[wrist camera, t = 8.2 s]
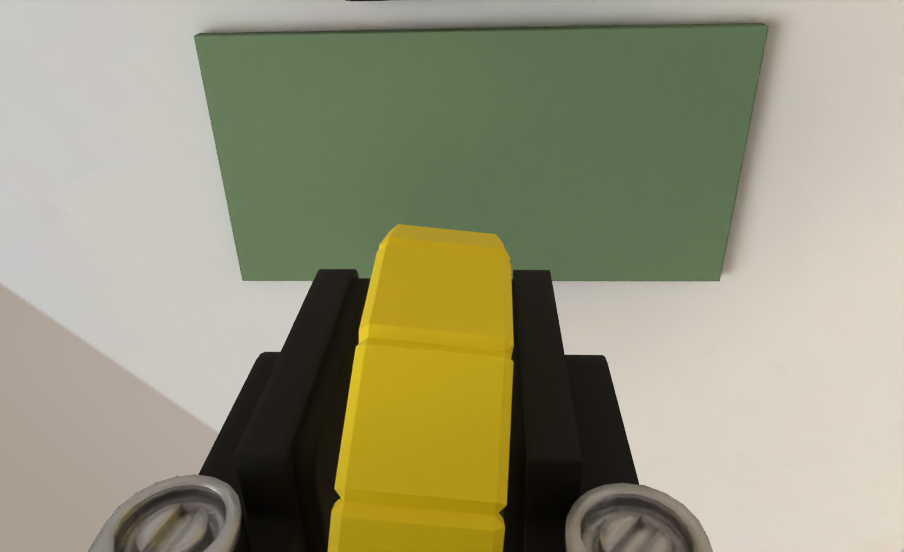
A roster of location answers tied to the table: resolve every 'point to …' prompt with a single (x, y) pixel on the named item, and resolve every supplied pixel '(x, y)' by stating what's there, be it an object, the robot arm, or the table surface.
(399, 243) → the watch
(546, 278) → the robot arm
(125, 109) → the table surface
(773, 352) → the table surface
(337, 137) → the mat
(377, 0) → the pan
